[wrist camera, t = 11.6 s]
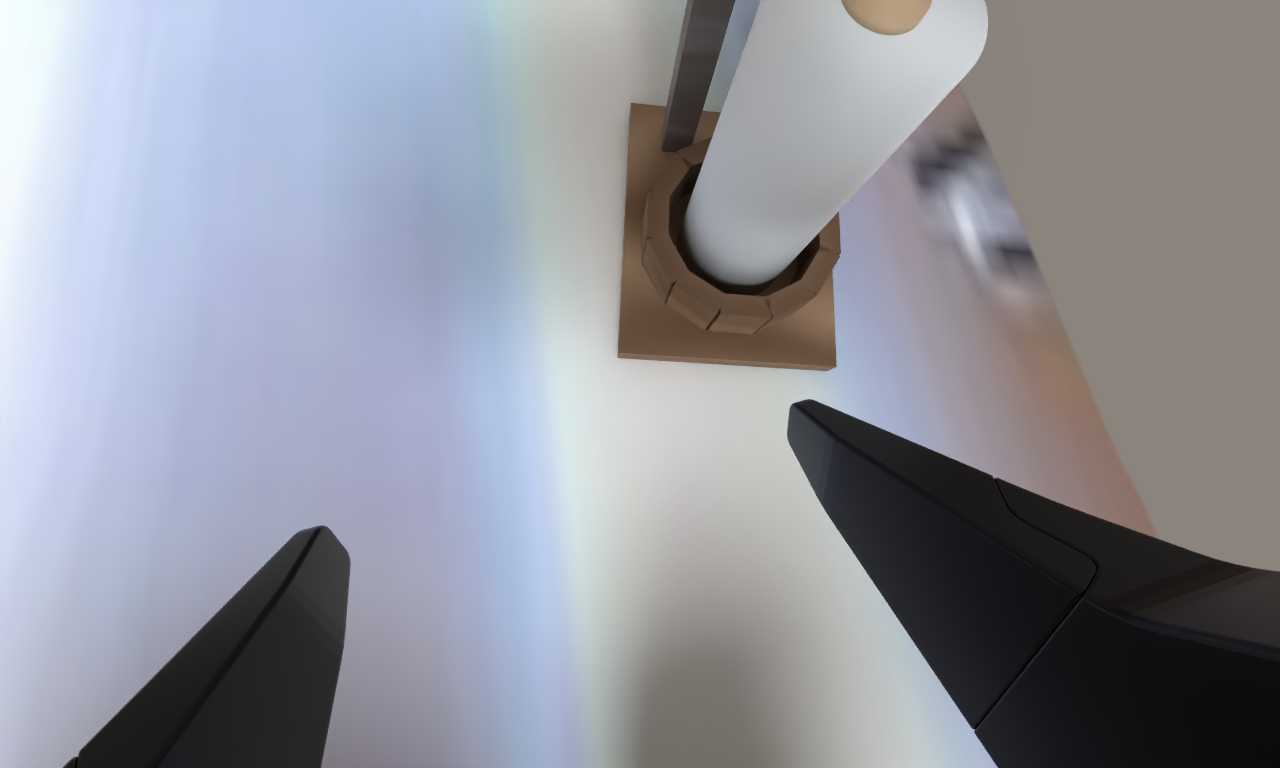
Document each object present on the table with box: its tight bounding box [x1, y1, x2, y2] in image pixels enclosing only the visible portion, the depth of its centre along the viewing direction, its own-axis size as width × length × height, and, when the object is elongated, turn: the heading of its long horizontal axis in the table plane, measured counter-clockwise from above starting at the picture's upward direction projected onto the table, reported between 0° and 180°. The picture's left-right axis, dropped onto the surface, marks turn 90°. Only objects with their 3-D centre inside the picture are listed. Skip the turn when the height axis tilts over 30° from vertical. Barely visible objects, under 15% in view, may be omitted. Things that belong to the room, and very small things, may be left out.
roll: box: [677, 0, 988, 296], centre depth 18 cm, size 6×6×13 cm
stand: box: [618, 0, 841, 371], centre depth 18 cm, size 14×11×14 cm
